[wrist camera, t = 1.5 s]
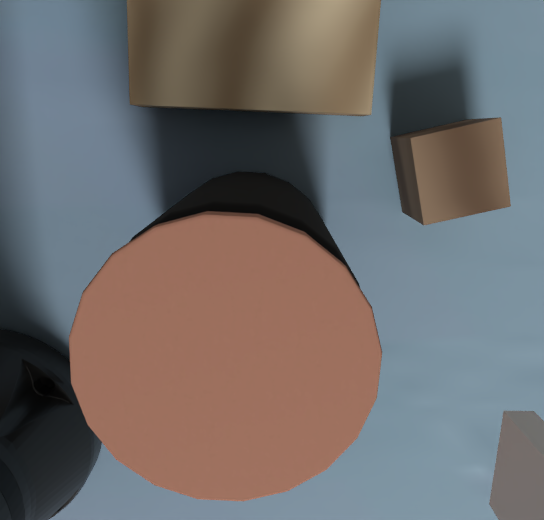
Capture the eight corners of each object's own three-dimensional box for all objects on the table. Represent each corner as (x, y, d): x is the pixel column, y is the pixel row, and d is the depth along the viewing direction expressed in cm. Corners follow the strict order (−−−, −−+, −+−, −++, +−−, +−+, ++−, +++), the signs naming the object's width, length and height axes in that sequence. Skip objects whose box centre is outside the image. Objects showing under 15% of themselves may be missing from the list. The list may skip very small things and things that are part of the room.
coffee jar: (243, 350, 36) (218, 554, 19) (137, 242, 34) (-1, 358, 17) (358, 254, 35) (447, 380, 17) (253, 135, 33) (233, 139, 15)
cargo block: (402, 211, 34) (423, 225, 29) (390, 137, 33) (410, 138, 28) (476, 195, 34) (510, 206, 29) (466, 119, 32) (500, 117, 28)
